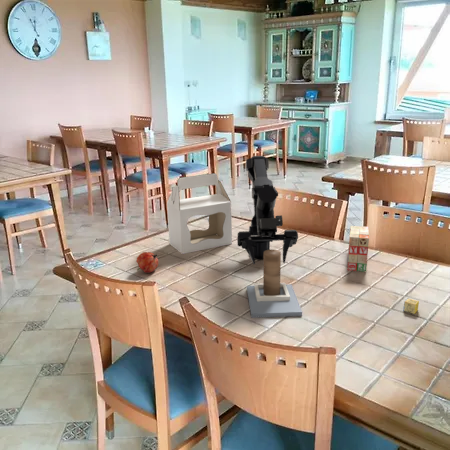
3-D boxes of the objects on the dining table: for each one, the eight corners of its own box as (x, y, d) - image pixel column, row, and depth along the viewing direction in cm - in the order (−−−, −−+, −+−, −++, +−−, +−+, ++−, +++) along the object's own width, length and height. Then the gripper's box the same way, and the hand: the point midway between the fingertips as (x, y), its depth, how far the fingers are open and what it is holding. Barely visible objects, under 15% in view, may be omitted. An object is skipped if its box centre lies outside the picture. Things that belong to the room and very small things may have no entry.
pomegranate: (136, 281, 157) (156, 267, 152) (125, 263, 157) (144, 248, 153) (148, 275, 163) (167, 261, 159) (137, 258, 164) (156, 244, 160)
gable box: (217, 235, 195) (215, 169, 187) (232, 243, 184) (231, 175, 176) (168, 244, 185) (164, 176, 177) (181, 254, 174) (177, 181, 166)
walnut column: (262, 289, 140) (262, 249, 136) (278, 289, 140) (279, 249, 136) (264, 297, 135) (264, 255, 131) (281, 296, 135) (281, 255, 131)
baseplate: (246, 289, 144) (246, 282, 143) (291, 287, 144) (291, 280, 143) (251, 317, 126) (251, 309, 126) (302, 315, 127) (302, 308, 126)
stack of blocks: (348, 249, 176) (350, 218, 172) (366, 250, 174) (368, 219, 170) (347, 270, 156) (349, 236, 152) (366, 272, 154) (369, 237, 151)
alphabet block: (406, 307, 130) (407, 297, 129) (418, 310, 128) (419, 300, 127) (403, 311, 128) (404, 301, 127) (414, 314, 126) (415, 304, 125)
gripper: (237, 206, 141) (239, 253, 134) (297, 205, 141) (303, 251, 134) (236, 223, 151) (238, 267, 144) (293, 221, 151) (298, 266, 144)
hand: (269, 263), depth 141 cm, fingers open, 9 cm apart
